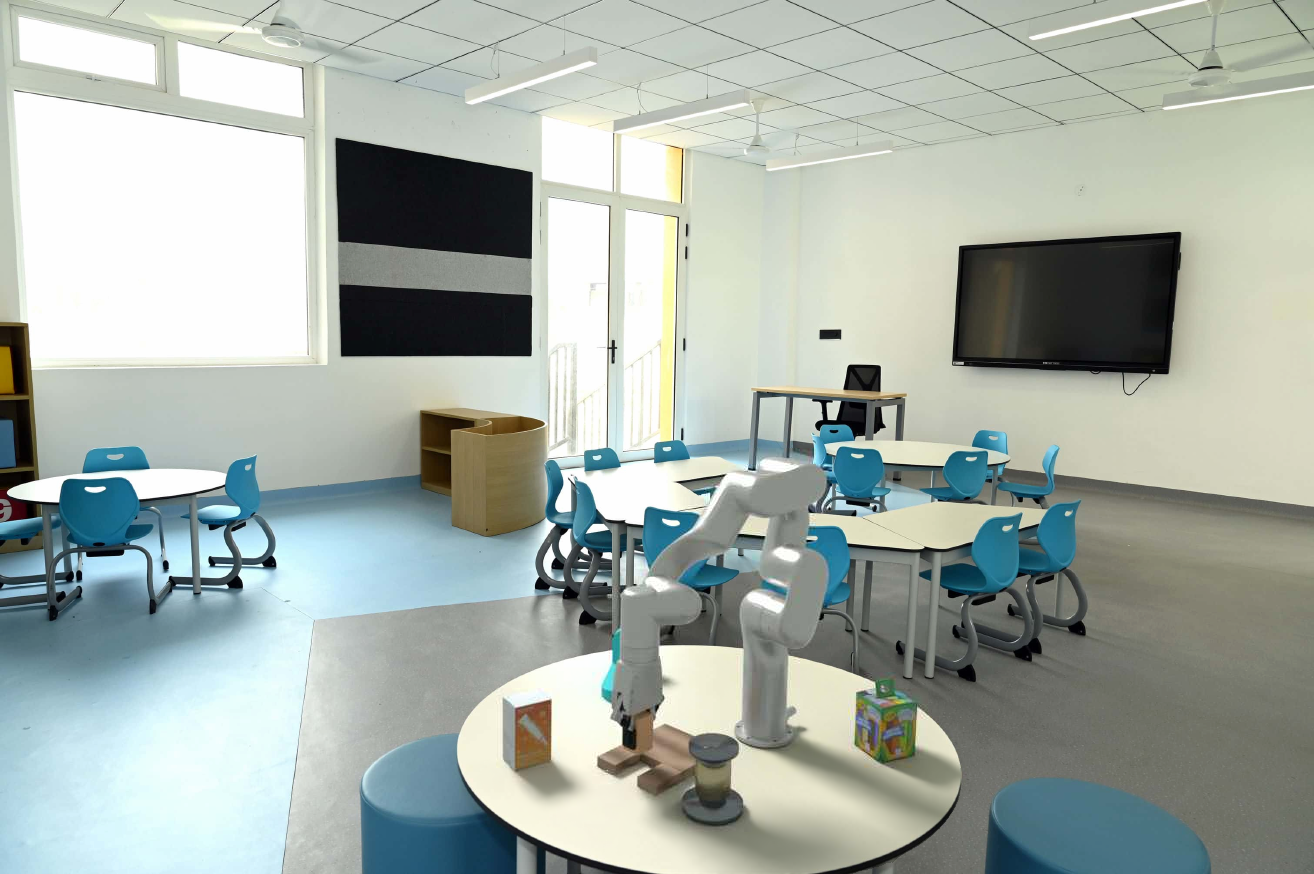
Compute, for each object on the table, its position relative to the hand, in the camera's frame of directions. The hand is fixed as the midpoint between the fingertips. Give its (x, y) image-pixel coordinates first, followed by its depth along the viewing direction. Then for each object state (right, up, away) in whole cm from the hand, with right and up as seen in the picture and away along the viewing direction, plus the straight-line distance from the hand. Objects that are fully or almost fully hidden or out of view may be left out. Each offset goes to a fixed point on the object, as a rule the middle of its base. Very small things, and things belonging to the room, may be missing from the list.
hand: (637, 742), depth 157 cm
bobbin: (+14, -8, -11) cm, 19 cm away
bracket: (-4, -3, +43) cm, 44 cm away
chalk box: (+51, -6, +12) cm, 53 cm away
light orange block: (0, -1, 0) cm, 1 cm away
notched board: (+5, -6, +6) cm, 9 cm away
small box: (-22, -6, +6) cm, 24 cm away
